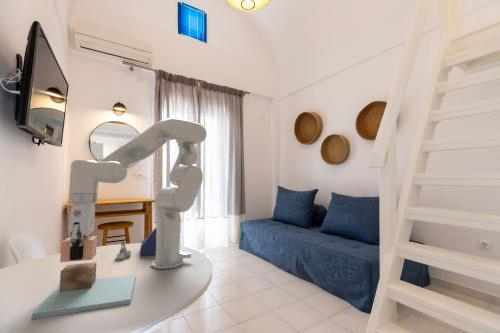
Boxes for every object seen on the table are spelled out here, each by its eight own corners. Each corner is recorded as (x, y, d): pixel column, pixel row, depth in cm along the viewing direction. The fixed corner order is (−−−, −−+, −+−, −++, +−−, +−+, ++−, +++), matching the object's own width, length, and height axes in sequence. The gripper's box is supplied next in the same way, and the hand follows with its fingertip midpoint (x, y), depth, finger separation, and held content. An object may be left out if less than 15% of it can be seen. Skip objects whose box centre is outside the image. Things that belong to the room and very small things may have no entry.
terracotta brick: (95, 254, 78) (97, 236, 78) (91, 259, 73) (92, 240, 73) (66, 256, 75) (68, 237, 75) (60, 262, 70) (61, 241, 70)
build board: (135, 278, 83) (135, 274, 83) (130, 303, 66) (130, 299, 66) (59, 287, 75) (59, 283, 75) (31, 319, 58) (31, 314, 58)
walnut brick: (95, 280, 78) (96, 262, 78) (91, 288, 72) (92, 268, 73) (66, 284, 75) (67, 265, 75) (59, 292, 70) (60, 271, 70)
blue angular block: (141, 249, 117) (142, 224, 117) (167, 247, 121) (168, 223, 122) (140, 256, 105) (141, 229, 106) (168, 254, 110) (169, 228, 111)
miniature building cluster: (134, 262, 100) (135, 243, 100) (112, 262, 98) (113, 244, 99) (140, 255, 108) (141, 238, 109) (120, 255, 107) (121, 238, 107)
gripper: (89, 200, 68) (85, 264, 67) (102, 196, 84) (99, 248, 83) (58, 201, 66) (53, 267, 64) (77, 196, 82) (73, 249, 80)
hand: (79, 255), depth 74 cm, fingers closed on terracotta brick, 5 cm apart
